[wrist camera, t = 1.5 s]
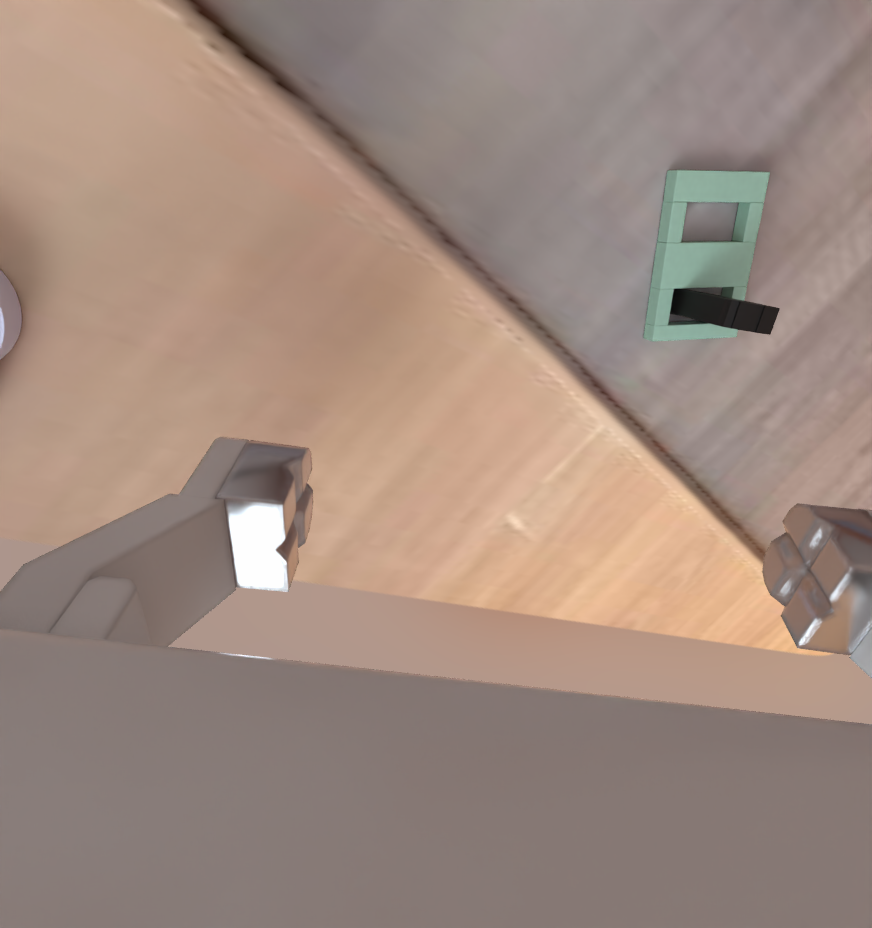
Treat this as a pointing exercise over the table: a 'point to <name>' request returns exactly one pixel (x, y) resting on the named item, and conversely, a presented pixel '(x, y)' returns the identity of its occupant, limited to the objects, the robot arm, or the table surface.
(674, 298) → the ink cartridge
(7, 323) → the wedge on round base
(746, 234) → the holder
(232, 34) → the table surface
